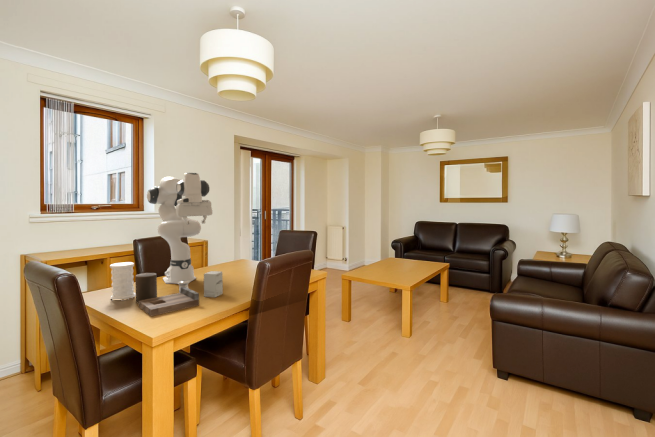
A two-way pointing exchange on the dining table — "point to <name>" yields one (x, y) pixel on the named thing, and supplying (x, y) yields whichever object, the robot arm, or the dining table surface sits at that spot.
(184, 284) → the frosted bulb shape
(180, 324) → the dining table surface
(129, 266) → the decorative container
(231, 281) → the dining table surface
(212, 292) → the supplement box
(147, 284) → the pillar candle
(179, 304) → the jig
